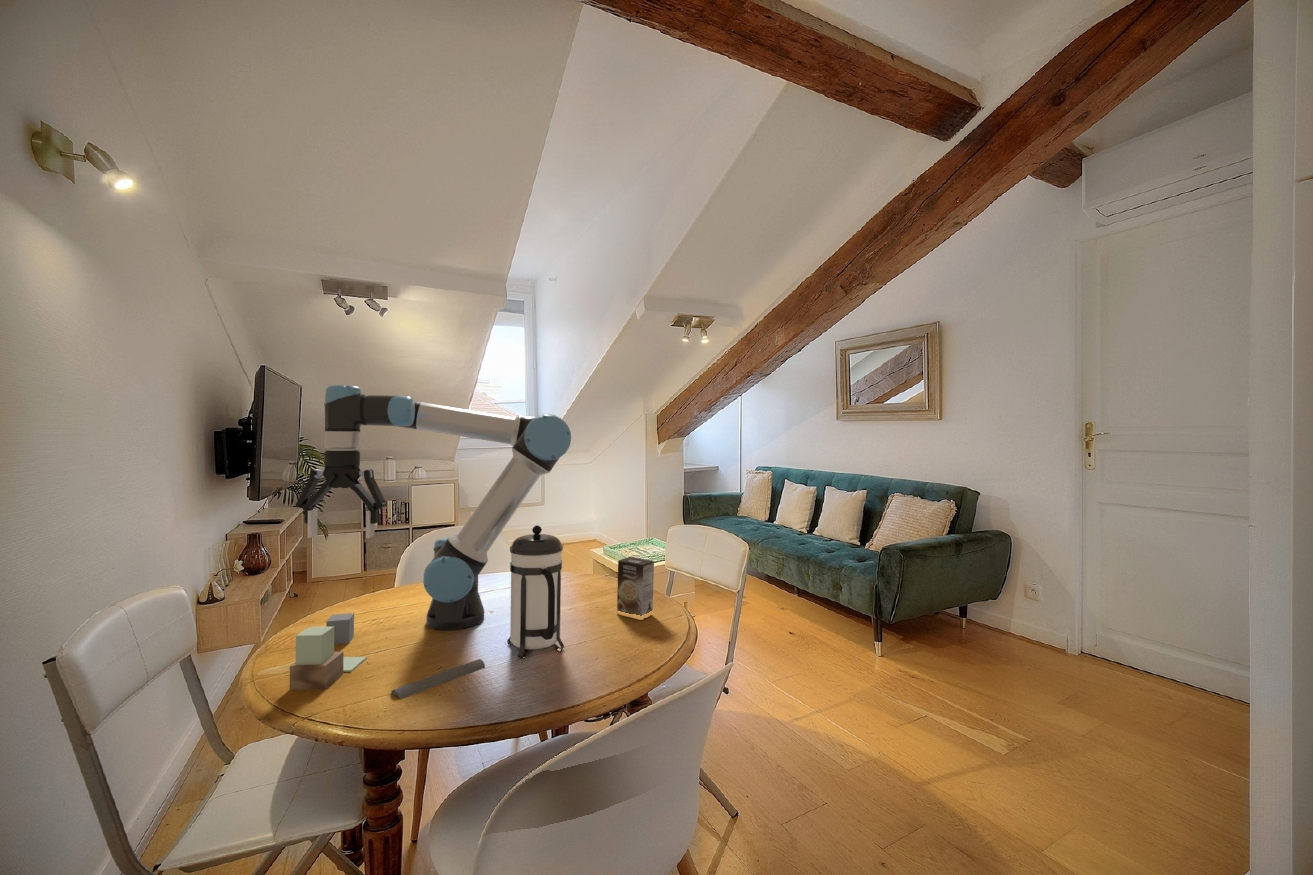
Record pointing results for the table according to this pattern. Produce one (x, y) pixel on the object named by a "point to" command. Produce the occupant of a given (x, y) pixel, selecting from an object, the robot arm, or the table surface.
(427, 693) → the table surface
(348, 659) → the tile
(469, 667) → the slim gray ramp strip
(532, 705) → the table surface
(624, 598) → the coffee box
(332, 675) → the walnut base
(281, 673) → the table surface
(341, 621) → the gray block
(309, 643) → the sage block
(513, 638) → the coffee press
